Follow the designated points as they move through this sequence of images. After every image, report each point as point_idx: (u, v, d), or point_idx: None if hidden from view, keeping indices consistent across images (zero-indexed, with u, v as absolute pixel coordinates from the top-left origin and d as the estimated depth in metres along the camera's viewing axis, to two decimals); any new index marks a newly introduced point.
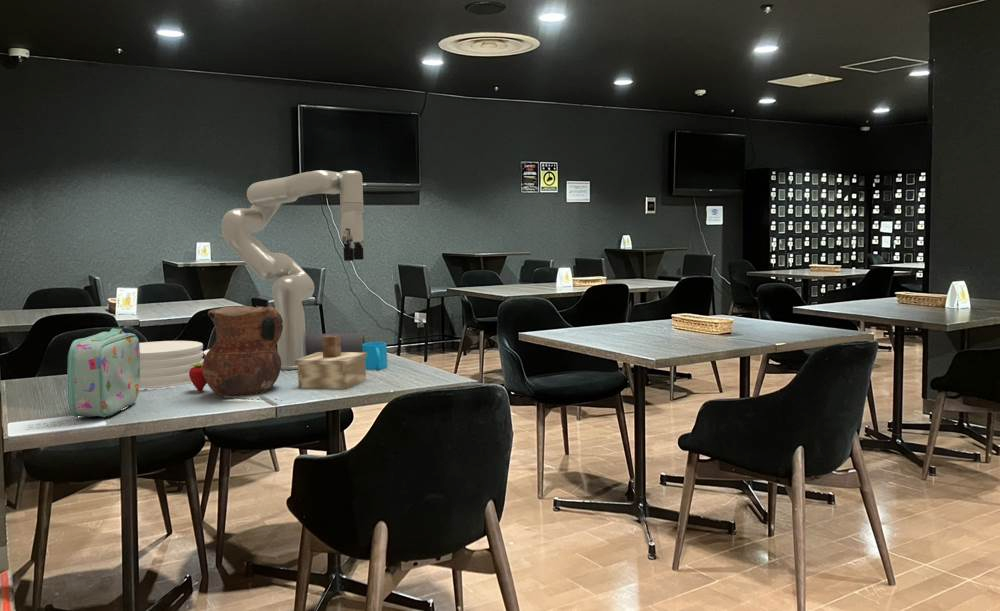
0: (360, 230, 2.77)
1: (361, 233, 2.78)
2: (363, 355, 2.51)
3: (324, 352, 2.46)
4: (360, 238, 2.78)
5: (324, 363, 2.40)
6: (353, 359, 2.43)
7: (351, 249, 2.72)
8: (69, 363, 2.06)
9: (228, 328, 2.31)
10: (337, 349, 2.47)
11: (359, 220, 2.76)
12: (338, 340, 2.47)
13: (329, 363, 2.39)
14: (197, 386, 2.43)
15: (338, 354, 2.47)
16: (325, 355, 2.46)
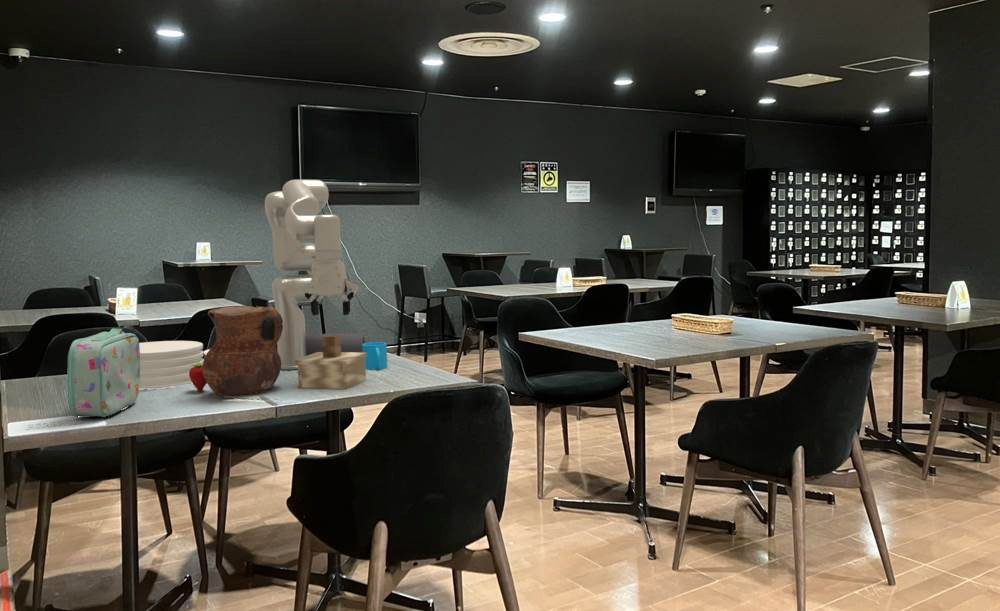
0: None
1: None
2: (363, 355, 2.51)
3: (324, 352, 2.46)
4: None
5: (324, 363, 2.40)
6: (353, 359, 2.43)
7: None
8: (69, 363, 2.06)
9: (228, 328, 2.31)
10: (337, 349, 2.47)
11: None
12: (338, 340, 2.47)
13: (329, 363, 2.39)
14: (197, 386, 2.43)
15: (338, 354, 2.47)
16: (325, 355, 2.46)
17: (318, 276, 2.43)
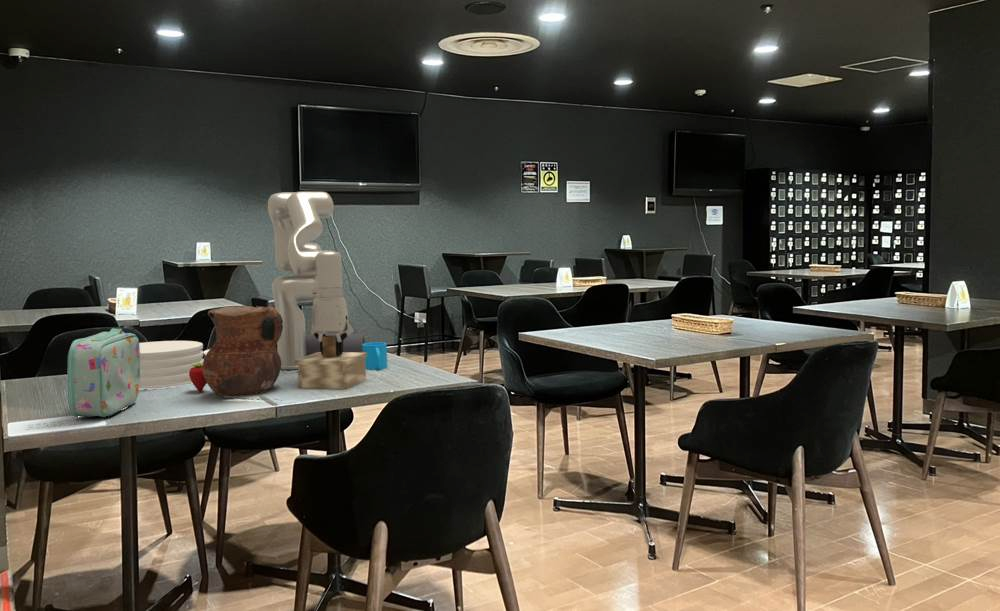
0: None
1: None
2: (363, 355, 2.51)
3: (324, 352, 2.46)
4: None
5: (324, 363, 2.40)
6: (353, 359, 2.43)
7: None
8: (69, 363, 2.06)
9: (228, 328, 2.31)
10: None
11: None
12: None
13: (329, 363, 2.39)
14: (197, 386, 2.43)
15: None
16: (325, 355, 2.46)
17: (319, 313, 2.44)
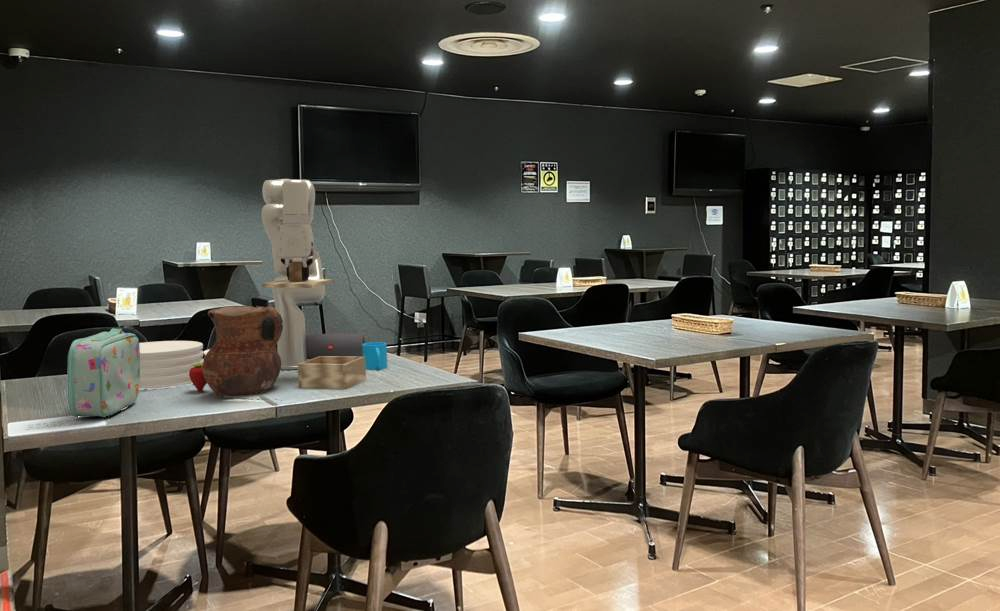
0: None
1: None
2: (328, 281, 2.60)
3: (290, 277, 2.55)
4: None
5: (290, 286, 2.49)
6: (318, 283, 2.53)
7: None
8: (69, 363, 2.06)
9: (228, 328, 2.31)
10: None
11: None
12: None
13: (295, 286, 2.49)
14: (197, 386, 2.43)
15: None
16: (291, 280, 2.55)
17: (286, 239, 2.53)
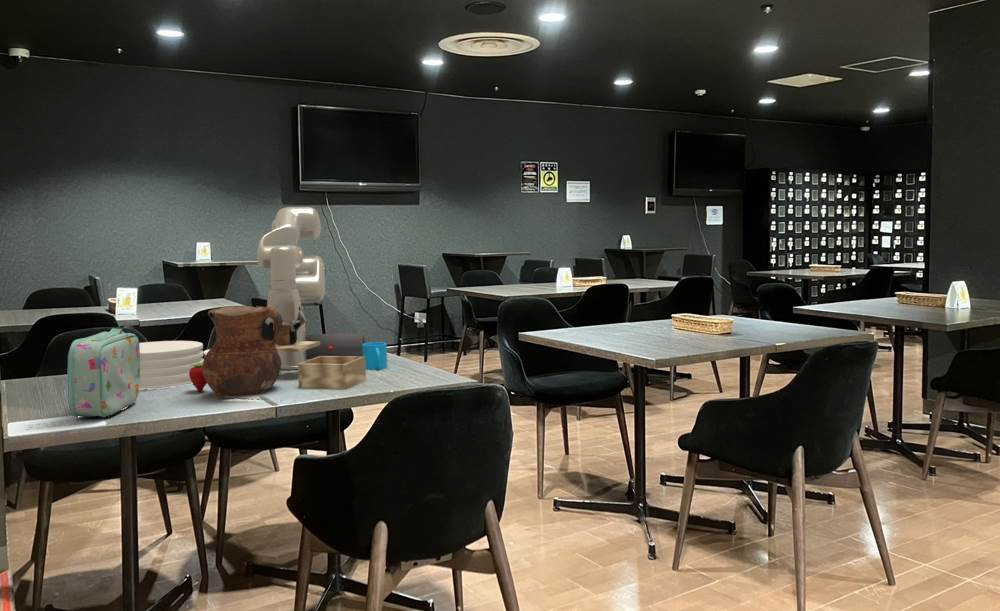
0: None
1: None
2: (316, 343, 2.67)
3: None
4: None
5: (277, 350, 2.56)
6: (305, 347, 2.60)
7: None
8: (69, 363, 2.06)
9: (228, 328, 2.31)
10: None
11: None
12: None
13: (282, 350, 2.56)
14: (197, 386, 2.43)
15: None
16: (279, 343, 2.63)
17: (274, 304, 2.61)
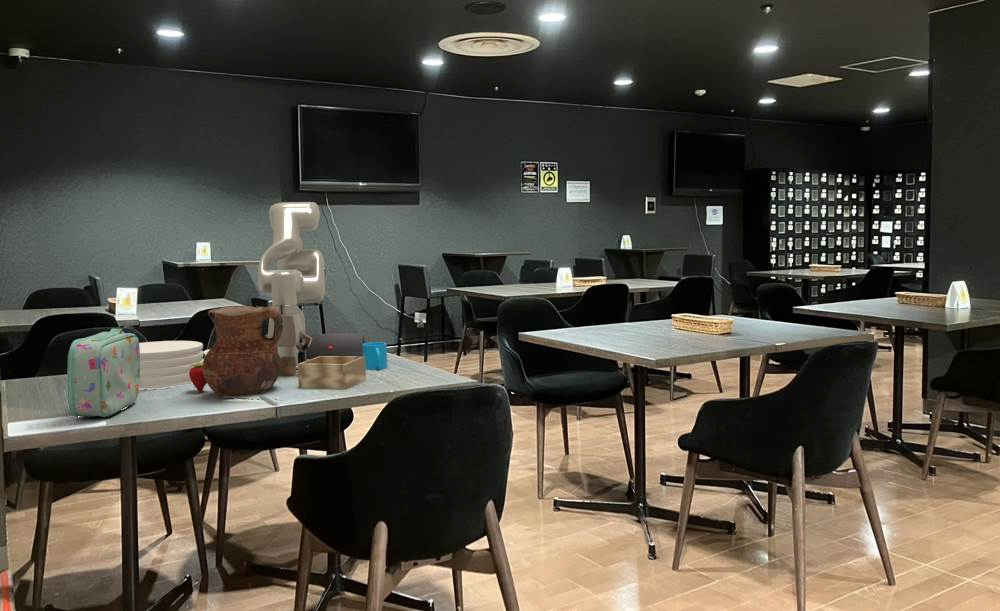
0: None
1: None
2: None
3: (280, 372, 2.64)
4: None
5: None
6: None
7: None
8: (69, 363, 2.06)
9: (228, 328, 2.31)
10: (292, 369, 2.64)
11: None
12: (293, 361, 2.65)
13: None
14: (197, 386, 2.43)
15: (293, 374, 2.65)
16: (281, 375, 2.64)
17: None
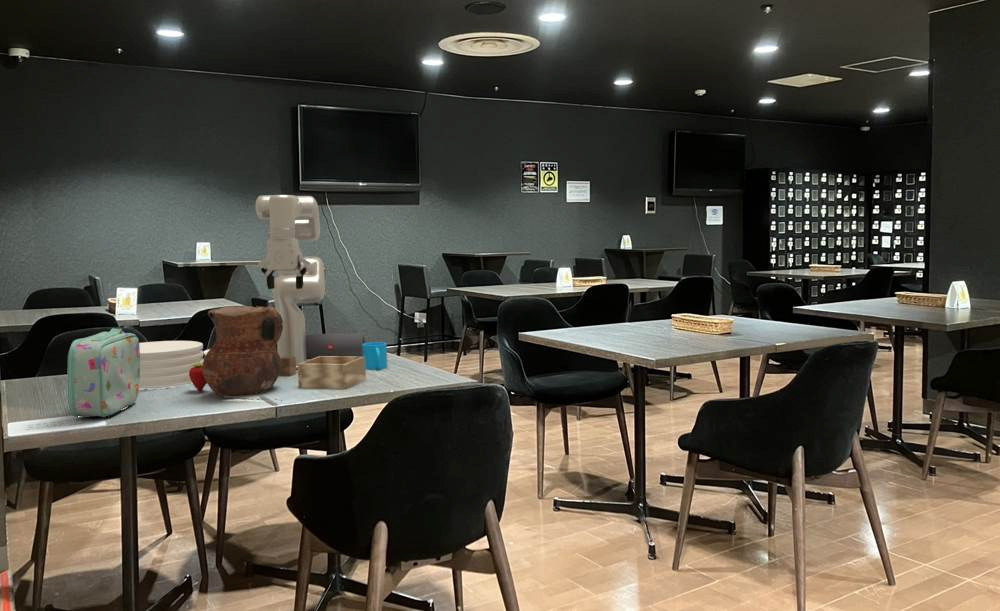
0: None
1: None
2: None
3: (280, 372, 2.64)
4: None
5: None
6: None
7: None
8: (69, 363, 2.06)
9: (228, 328, 2.31)
10: (292, 369, 2.64)
11: None
12: (293, 361, 2.65)
13: None
14: (197, 386, 2.43)
15: (293, 374, 2.65)
16: (281, 375, 2.64)
17: (273, 252, 2.60)
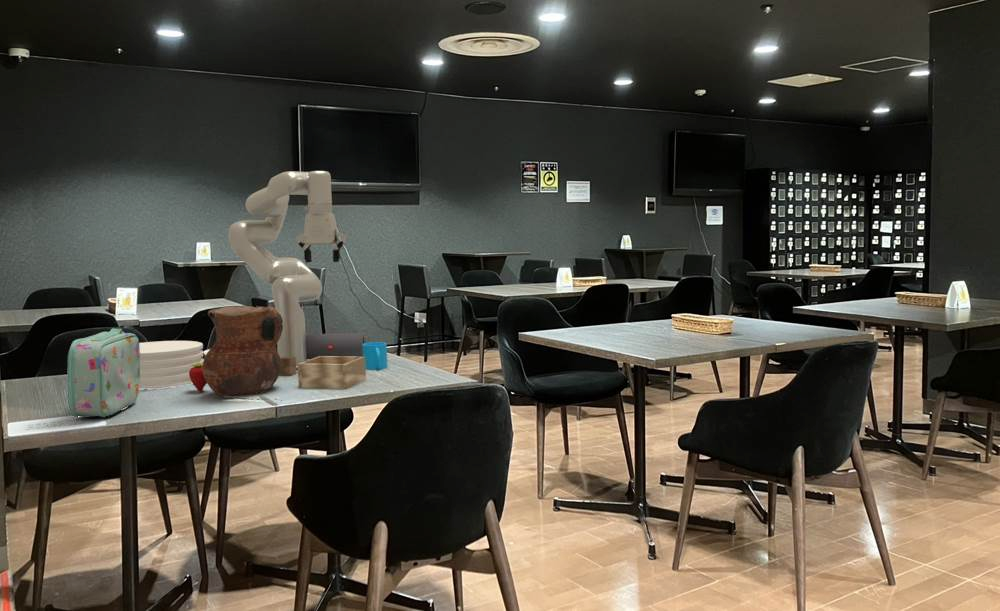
0: None
1: None
2: None
3: (280, 372, 2.64)
4: None
5: None
6: None
7: None
8: (69, 363, 2.06)
9: (228, 328, 2.31)
10: (292, 369, 2.64)
11: None
12: (293, 361, 2.65)
13: None
14: (197, 386, 2.43)
15: (293, 374, 2.65)
16: (281, 375, 2.64)
17: (311, 226, 2.69)
